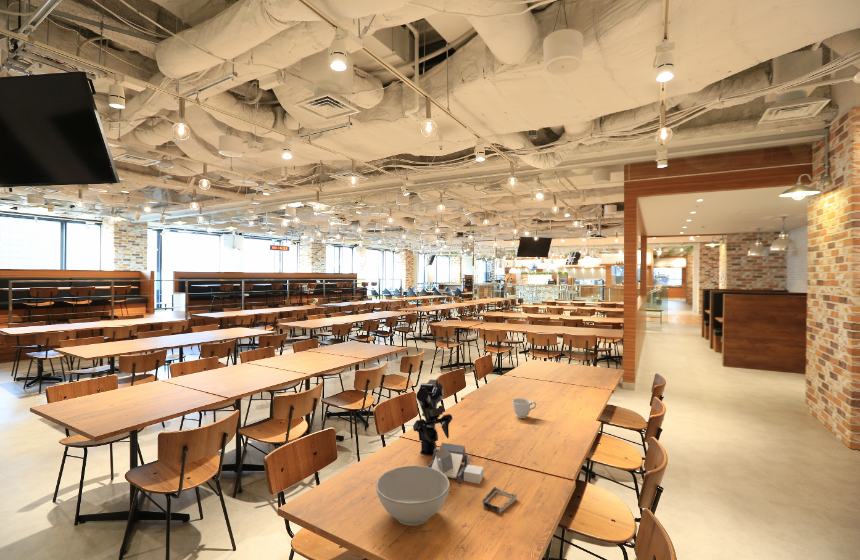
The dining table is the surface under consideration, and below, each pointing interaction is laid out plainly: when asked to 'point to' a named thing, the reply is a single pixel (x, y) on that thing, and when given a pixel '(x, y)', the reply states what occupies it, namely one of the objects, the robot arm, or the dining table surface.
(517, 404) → the teacup
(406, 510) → the decorative bowl
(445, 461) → the stone
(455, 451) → the trapdoor
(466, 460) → the frame
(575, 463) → the dining table surface
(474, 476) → the light grey block
